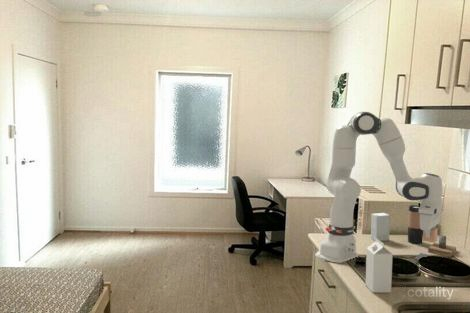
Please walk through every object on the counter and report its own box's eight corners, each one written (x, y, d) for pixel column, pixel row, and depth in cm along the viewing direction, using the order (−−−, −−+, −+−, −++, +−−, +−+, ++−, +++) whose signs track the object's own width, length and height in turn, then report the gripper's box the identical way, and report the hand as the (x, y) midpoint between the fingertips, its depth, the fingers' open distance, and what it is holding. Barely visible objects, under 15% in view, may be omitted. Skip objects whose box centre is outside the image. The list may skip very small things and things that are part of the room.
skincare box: (383, 237, 208) (384, 212, 207) (389, 241, 202) (390, 214, 201) (370, 238, 206) (370, 213, 205) (376, 241, 201) (376, 215, 200)
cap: (434, 242, 169) (434, 230, 169) (422, 240, 173) (423, 228, 172) (437, 240, 173) (437, 228, 173) (425, 238, 177) (426, 226, 176)
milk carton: (382, 284, 144) (384, 238, 143) (391, 292, 137) (393, 243, 136) (365, 285, 144) (366, 238, 142) (372, 293, 137) (374, 243, 135)
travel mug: (425, 244, 196) (427, 208, 195) (411, 244, 196) (412, 208, 195) (418, 240, 204) (420, 205, 202) (404, 240, 204) (406, 205, 203)
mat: (437, 264, 166) (437, 263, 166) (413, 259, 173) (413, 258, 173) (443, 258, 174) (443, 257, 174) (420, 253, 181) (420, 253, 181)
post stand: (450, 256, 177) (451, 240, 177) (428, 252, 184) (428, 236, 183) (456, 250, 186) (456, 235, 185) (434, 246, 193) (435, 231, 192)
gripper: (429, 203, 182) (428, 230, 183) (417, 209, 167) (416, 239, 168) (443, 204, 177) (442, 232, 178) (432, 211, 162) (431, 242, 163)
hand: (430, 235), depth 173 cm, fingers closed on cap, 5 cm apart
